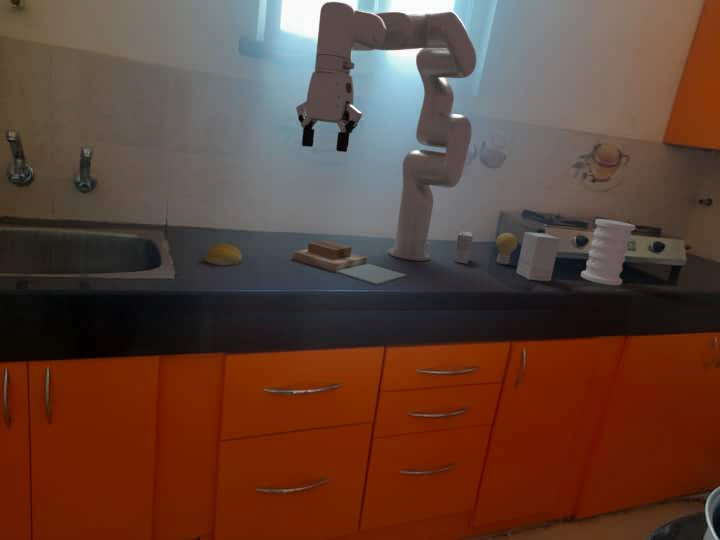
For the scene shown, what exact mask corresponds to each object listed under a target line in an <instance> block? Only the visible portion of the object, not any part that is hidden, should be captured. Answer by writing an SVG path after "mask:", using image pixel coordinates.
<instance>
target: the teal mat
mask: <svg viewBox="0 0 720 540" xmlns="http://www.w3.org/2000/svg"><path fill="white" fill-rule="evenodd" d="M335 273H337V274H340V275H343V276H347V277H349V276H350V277H349V278H352V277H353V279H356V280H360V281H363V282H367V283H369V284H373V285H376V286H377V285H381V284H385V283H388V282H392V281H395V280H397V279H401V278H403V277H407V274H406V273H401V272H398V271H394V270H391V269H389V268H388V269H387V268H385V267H381V266H377V265H374V264H370V263H366V264H364V265H360V266H355V267H351V268H347V269H342V270H338V271H336V272H335Z"/></svg>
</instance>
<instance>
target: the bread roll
mask: <svg viewBox="0 0 720 540" xmlns="http://www.w3.org/2000/svg"><path fill="white" fill-rule="evenodd" d="M204 258H205V261H206V262H207V263H209V264H212V265H217V266H224V267H225V266H236V265H239V264H240V263H241V262H242V260H243V254H242V253H241V251H240V250H239V249H238V248H237V247H235V246H234V245H231V244H228V243H227V244H226V243H220V244H217V245H215V246H213V247H212V248H211V249H210V250H209V251H207V253H206V254H205V255H204Z"/></svg>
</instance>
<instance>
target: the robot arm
mask: <svg viewBox="0 0 720 540" xmlns="http://www.w3.org/2000/svg"><path fill="white" fill-rule="evenodd" d="M318 23H319V24H318V34H317V45H316V55H315V63H314V64H315V65H314V71H313V72H312V74H311V77H310V81H309V85H308V88H307V89H308V91H307V96H306V101H304V102H303V103H301V104H299V105H297V106H296V108H295V109H296V113H297V118H298V121H299V123H300V127H301V129H302V138H301V139H302V141H301V146H302V147H309V148H312V147H313V146H314V137H315V128H313V127H315V125H316V124H317V123H318V121H319V122H325V123H332V124H337V126H338V129H340V131H338V132H337V138H336V139H337V140H336V147H335V149H336V152H341V153H342V152H343V153H347V151H348V147H349V143H350V142H349V141H350V135H351V134H352V133H353V130H355V128H356V127H357V126H358V124H359V122H360V120H361V118H362V116H363V113H362V112H361V111H360V110H358V109H357V108H356V107H355V106H354V92H355V91H354V80H353V76H352V75H350V72H351V70H354V68H355V63H354V62H352V57H353V51H357V52H358V51H359V52H362V51H363V52H369V51H374V50H377V51H401V50H402V51H404V50H418V51H417V53H416V58H415V60H416V61H415V63H416V64H415V65H416V68H417V71H418V73H419V76H420V78H421V81H422V85H423V90H424V91H423V92H424V95H423V101H422V105H421V109H420V113H419V116H418V117H419V118H418V122H417V127H416V131H415V132H416V133H415V136H416V140H417V142H418V143H419V144H421V145H423V146H426V147H431V148H438V149H439V148H441V149H445V152H439V151H435V150H427V149H414V150H412V151H409V152H408V153H406V155H405V157H404V159H403V161H402V193H401V198H400V199H401V200H400V205H399V214H398V219H397V221H398V222H397V226H396V233H395V241H394V246H393V247H390V248H389V249H388V254H389V255H390V256H392V257H395V258H398V259H400V260H401V259H403V260H409V261H416V262H421V261H422V262H424V261H428V260H430V258H431V255H430V254H429V253H428V252H426V251H427V249H429V248H430V247H431V243H430V242H429V241H428V238H429V231H430V226H431V225H430V224H431V219H432V215H433V213H432V212H433V206H434V195H433V194H434V193H433V192H432V189H431V186H433V187H439V188H444V189H445V188H447V189H451V188H454V187H456V186H457V185H458V184H459V182H460V180H461V178H462V174H463V171H464V168H465V164H466V159H467V156H468V152H469V148H470V144H471V139H472V123H471V121H470V119H469V118H468V117H466V116H465V115H463V114H458V113H457V114H455V113H452V110H453V105H454V100H455V95H454V91H453V89H452V86H451V85H450V83H449V81H448V80H447V78H449V79H464V78H468V77H469V76H471V75H472V74H473V72H474V71H475V68H476V67H477V66H476V65H477V54H476V49H475V47H474V44H473V42H472V40H471V37H470V35H469V34H468V31H467V29H466V27H465V25H464V22H463V21H462V20H461V18H460V17H459V16H458V14H457V13H455V12H454V11H451V10H439V11H438V10H437V11H436V10H435V11H434V10H433V11H386V12H385V11H384V12H379V13H373V12H369V11H365V10H364V11H363V10H359V9H355V8H354V7H353V6H351V5H349V4H347V3H344V2H338V1H327V2H325V3H323V5H322V6H321V8H320V14H319V20H318Z"/></svg>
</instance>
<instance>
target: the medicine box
mask: <svg viewBox="0 0 720 540" xmlns="http://www.w3.org/2000/svg"><path fill="white" fill-rule="evenodd" d="M457 233H458V234H457V237H456V244H455V251H454V257H453V258H454V260H453V262H454V263H460V264H465V265H469V261H470V255H471V250H472V243H473V232H470V231H462V230H461V231H458V232H457Z"/></svg>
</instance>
